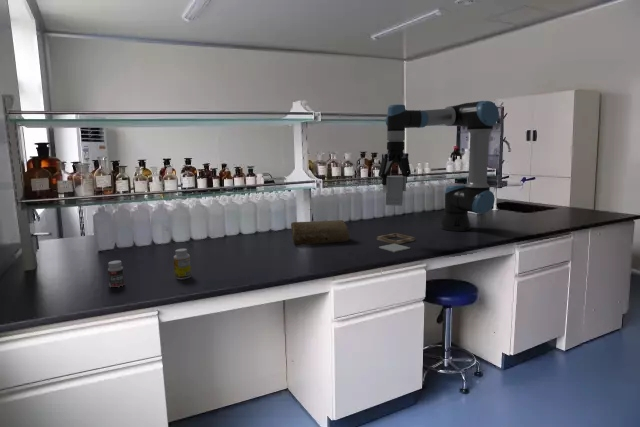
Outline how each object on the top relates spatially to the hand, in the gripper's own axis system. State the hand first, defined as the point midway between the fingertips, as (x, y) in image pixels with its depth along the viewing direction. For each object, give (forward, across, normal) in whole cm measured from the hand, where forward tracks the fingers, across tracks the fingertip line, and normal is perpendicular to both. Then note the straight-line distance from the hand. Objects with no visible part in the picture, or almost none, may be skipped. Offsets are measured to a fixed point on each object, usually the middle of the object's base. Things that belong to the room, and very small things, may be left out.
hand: (394, 191), depth 190 cm
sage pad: (+25, +4, +4) cm, 25 cm away
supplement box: (+6, 0, 0) cm, 6 cm away
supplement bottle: (+26, +92, -10) cm, 96 cm away
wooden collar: (+24, -8, -6) cm, 26 cm away
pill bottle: (+26, +113, -15) cm, 117 cm away
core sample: (+25, +23, -27) cm, 43 cm away
